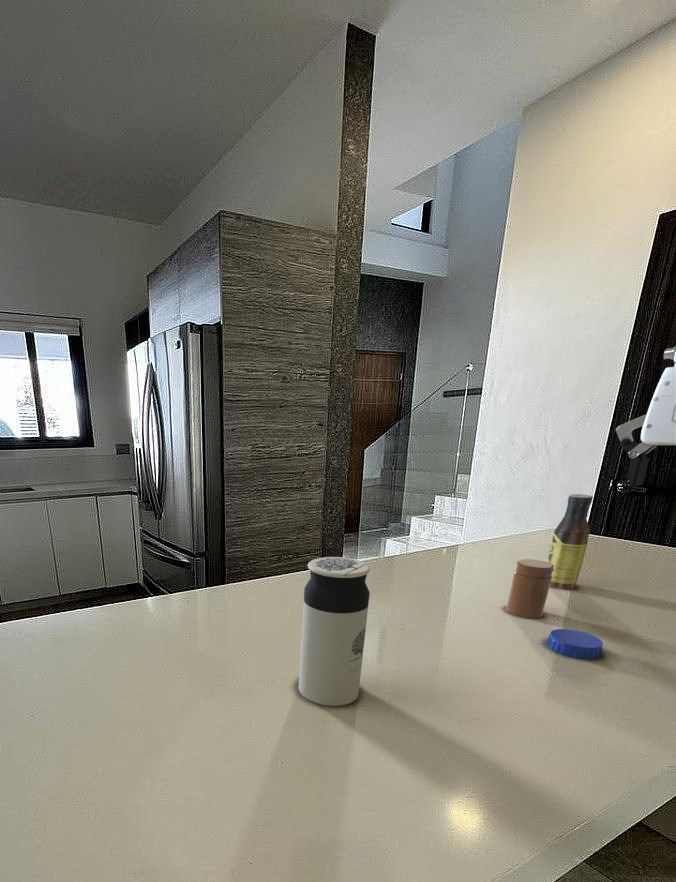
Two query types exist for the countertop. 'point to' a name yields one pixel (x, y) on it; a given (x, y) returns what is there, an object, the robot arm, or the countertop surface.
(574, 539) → the sauce bottle
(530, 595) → the jar
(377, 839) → the countertop surface
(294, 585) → the countertop surface
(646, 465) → the robot arm
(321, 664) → the travel mug
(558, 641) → the lid
